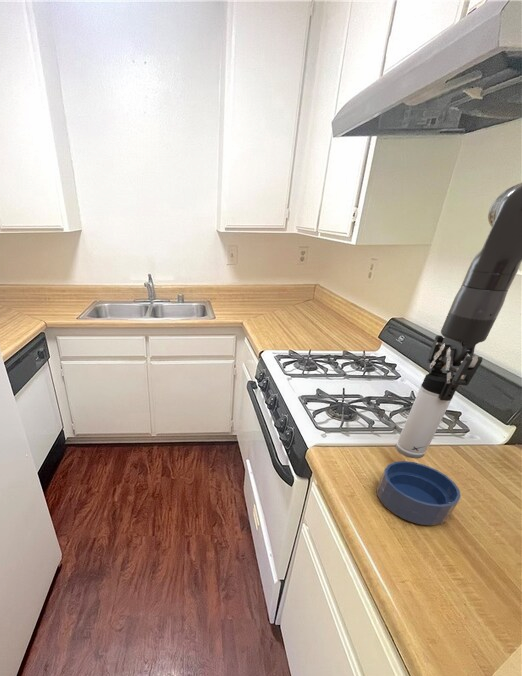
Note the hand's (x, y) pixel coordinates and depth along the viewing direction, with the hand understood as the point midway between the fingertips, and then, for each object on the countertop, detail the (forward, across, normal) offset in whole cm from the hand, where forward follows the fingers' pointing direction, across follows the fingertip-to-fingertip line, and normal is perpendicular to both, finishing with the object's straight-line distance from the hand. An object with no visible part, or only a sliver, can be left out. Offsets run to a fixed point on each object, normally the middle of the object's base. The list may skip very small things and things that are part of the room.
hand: (436, 392), depth 74 cm
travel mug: (+16, 0, 0) cm, 16 cm away
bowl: (+21, -12, +2) cm, 25 cm away
